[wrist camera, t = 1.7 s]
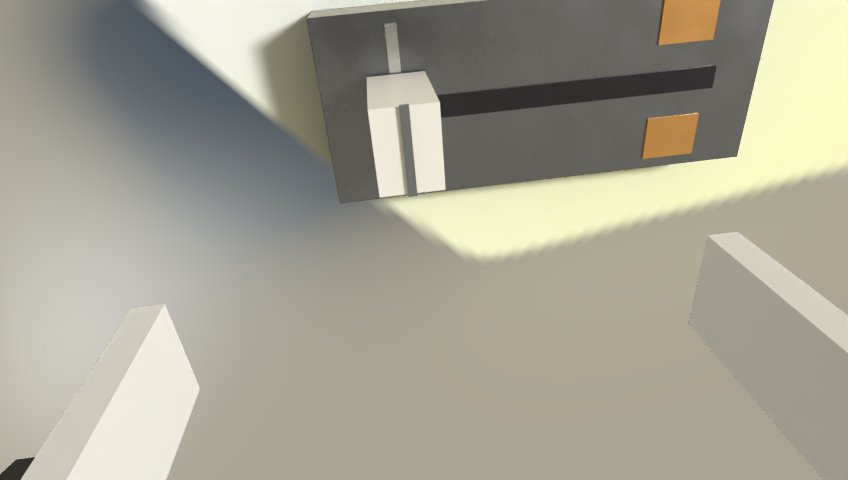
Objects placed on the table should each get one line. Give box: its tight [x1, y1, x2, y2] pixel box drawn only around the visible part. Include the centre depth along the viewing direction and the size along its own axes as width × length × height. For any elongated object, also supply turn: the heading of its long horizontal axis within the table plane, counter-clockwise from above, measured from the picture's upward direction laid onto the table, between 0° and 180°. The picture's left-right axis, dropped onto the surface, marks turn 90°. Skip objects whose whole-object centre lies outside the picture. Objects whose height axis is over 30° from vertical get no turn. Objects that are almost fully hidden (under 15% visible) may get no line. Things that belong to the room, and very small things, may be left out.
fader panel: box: [307, 0, 774, 203], centre depth 29 cm, size 10×24×3 cm, turn 95°
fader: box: [367, 71, 446, 197], centre depth 25 cm, size 4×3×6 cm
